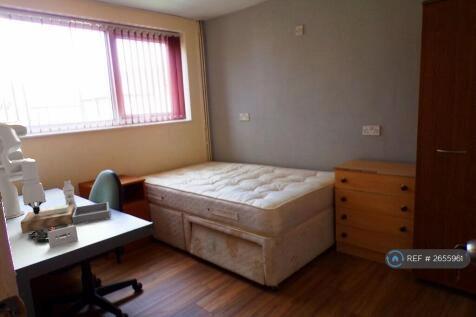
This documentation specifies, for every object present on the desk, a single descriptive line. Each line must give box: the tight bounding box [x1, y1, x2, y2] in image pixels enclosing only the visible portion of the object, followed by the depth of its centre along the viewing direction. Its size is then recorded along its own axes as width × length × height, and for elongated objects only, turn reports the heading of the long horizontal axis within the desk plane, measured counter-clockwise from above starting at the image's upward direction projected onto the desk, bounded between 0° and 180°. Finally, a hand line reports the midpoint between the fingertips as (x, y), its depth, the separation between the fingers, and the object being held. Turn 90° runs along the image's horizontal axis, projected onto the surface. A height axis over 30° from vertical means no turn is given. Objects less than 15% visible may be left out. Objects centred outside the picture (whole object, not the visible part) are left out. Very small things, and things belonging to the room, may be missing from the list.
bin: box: [72, 201, 111, 226], centre depth 194 cm, size 19×22×4 cm
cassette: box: [47, 224, 79, 249], centre depth 153 cm, size 12×2×8 cm, turn 125°
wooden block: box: [20, 205, 75, 234], centre depth 186 cm, size 24×20×6 cm
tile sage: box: [54, 204, 69, 214], centre depth 187 cm, size 7×7×2 cm
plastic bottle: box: [62, 179, 78, 209], centre depth 207 cm, size 6×7×20 cm
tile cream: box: [39, 206, 56, 216], centre depth 185 cm, size 7×7×2 cm
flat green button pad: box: [28, 224, 70, 243], centre depth 166 cm, size 18×18×5 cm
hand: (37, 213), depth 183 cm, fingers closed
